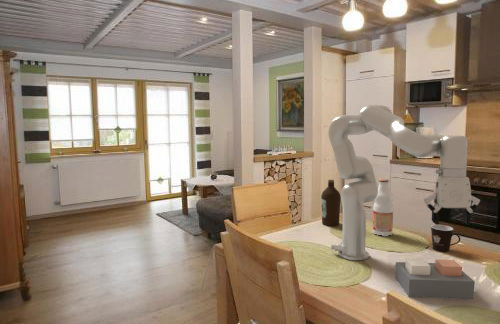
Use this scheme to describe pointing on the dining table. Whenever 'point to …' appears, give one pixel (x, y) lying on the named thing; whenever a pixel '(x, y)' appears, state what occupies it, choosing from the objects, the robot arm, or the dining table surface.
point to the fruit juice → (383, 210)
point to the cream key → (417, 267)
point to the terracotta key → (448, 267)
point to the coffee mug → (442, 237)
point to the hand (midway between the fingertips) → (450, 223)
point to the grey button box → (434, 284)
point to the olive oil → (330, 205)
